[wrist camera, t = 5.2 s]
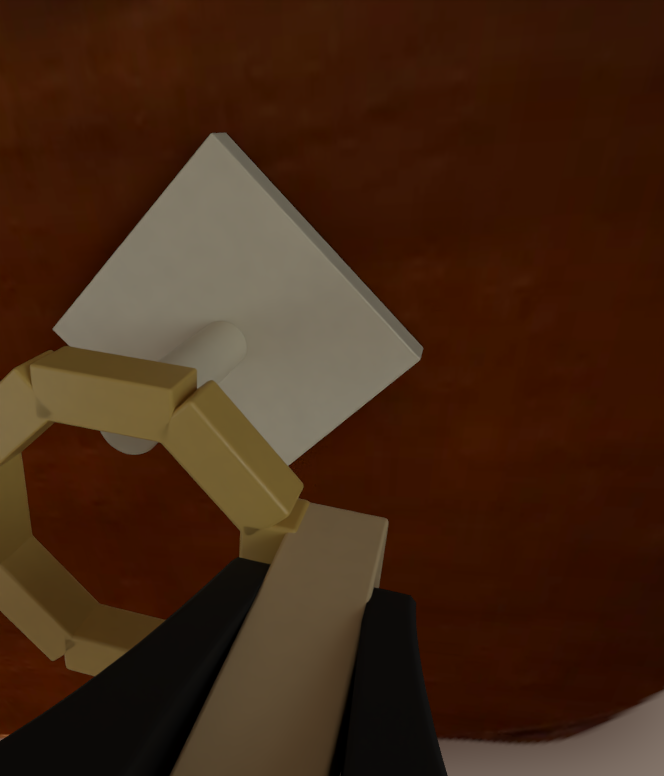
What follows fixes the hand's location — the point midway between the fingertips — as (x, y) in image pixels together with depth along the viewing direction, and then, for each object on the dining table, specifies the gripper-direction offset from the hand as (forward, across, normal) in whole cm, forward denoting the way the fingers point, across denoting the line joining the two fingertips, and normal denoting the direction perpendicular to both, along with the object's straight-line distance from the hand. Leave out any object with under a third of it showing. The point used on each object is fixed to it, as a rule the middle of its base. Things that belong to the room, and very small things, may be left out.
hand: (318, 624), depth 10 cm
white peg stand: (+10, +5, -1) cm, 11 cm away
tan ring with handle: (+2, +4, 0) cm, 4 cm away
